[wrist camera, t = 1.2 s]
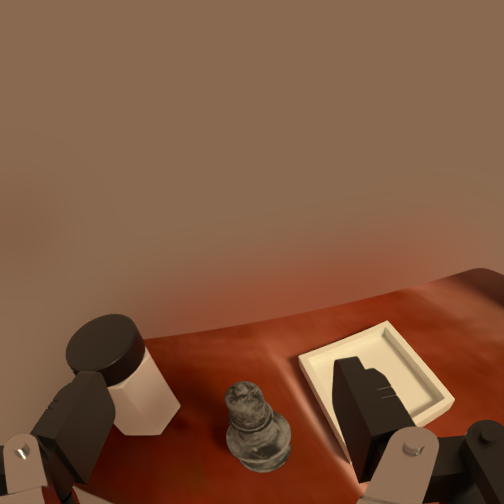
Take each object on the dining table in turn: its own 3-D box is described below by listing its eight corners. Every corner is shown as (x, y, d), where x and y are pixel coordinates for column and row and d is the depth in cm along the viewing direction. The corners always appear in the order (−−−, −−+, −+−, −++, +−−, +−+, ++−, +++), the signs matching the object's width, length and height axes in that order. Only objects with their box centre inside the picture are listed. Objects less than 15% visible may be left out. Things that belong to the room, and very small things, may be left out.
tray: (385, 331, 37) (387, 320, 36) (449, 409, 25) (454, 399, 24) (299, 366, 35) (298, 355, 34) (350, 464, 23) (351, 457, 22)
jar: (109, 399, 34) (60, 332, 28) (161, 372, 38) (123, 301, 32) (130, 450, 27) (69, 387, 22) (190, 419, 31) (147, 348, 25)
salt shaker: (254, 417, 30) (228, 343, 24) (304, 437, 27) (295, 366, 21) (223, 459, 26) (181, 397, 20) (274, 484, 23) (251, 432, 17)
